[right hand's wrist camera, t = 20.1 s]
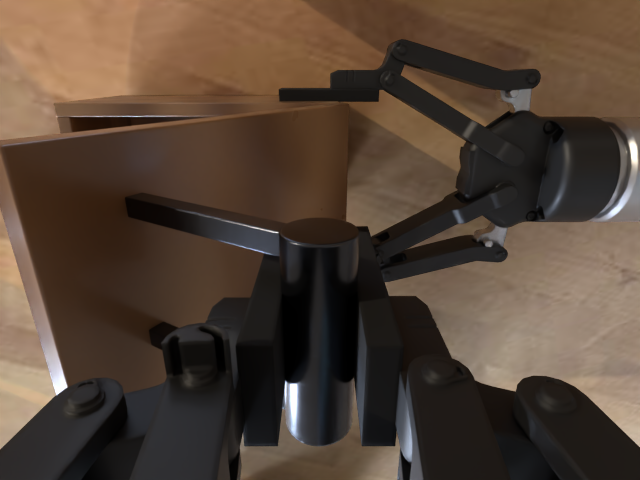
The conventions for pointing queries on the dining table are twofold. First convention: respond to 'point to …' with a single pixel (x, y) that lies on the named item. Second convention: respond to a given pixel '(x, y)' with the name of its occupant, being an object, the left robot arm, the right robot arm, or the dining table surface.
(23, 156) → the door
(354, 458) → the dining table surface
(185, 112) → the chest
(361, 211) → the dining table surface
